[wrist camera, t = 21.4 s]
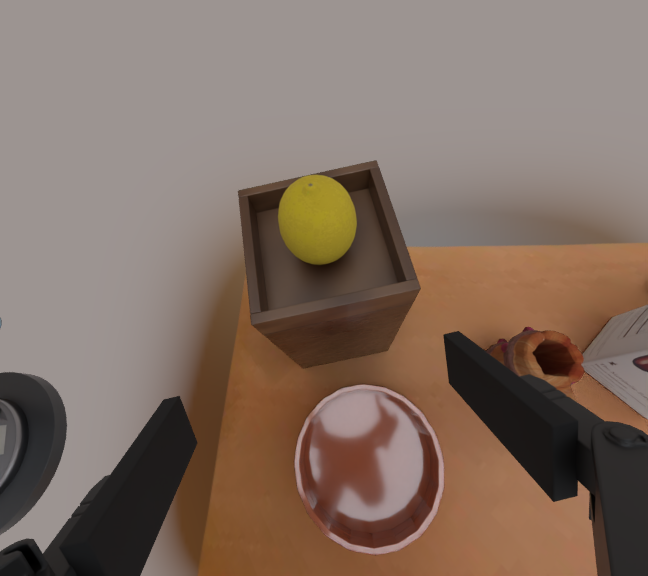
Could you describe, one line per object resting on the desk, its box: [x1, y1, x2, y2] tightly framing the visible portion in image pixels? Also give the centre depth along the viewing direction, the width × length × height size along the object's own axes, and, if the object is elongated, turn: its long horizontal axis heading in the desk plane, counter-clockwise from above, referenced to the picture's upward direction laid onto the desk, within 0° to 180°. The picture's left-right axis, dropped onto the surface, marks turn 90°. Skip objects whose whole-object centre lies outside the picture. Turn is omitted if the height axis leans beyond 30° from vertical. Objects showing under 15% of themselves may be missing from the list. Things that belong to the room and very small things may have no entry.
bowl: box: [294, 384, 444, 555], centre depth 36 cm, size 16×16×4 cm
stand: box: [264, 303, 413, 368], centre depth 35 cm, size 12×12×20 cm
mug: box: [486, 327, 584, 402], centre depth 33 cm, size 12×7×13 cm, turn 1°
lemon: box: [278, 175, 357, 265], centre depth 22 cm, size 6×6×8 cm
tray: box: [238, 161, 421, 335], centre depth 25 cm, size 12×12×3 cm
